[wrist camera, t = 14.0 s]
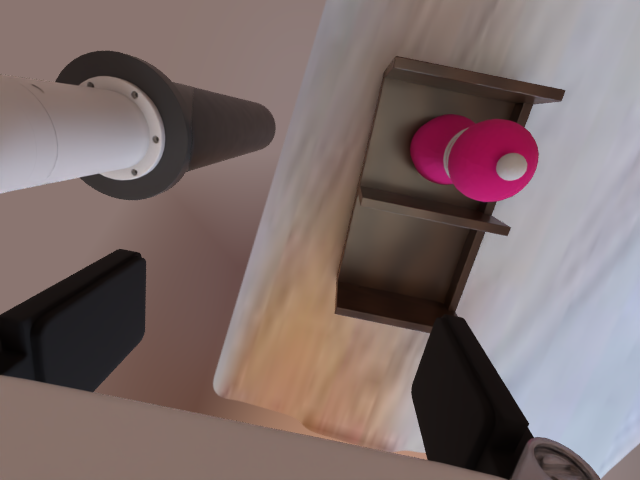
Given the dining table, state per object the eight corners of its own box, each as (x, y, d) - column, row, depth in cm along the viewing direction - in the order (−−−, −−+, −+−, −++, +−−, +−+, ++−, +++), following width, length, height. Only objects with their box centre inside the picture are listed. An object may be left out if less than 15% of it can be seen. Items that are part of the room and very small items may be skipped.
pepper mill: (480, 135, 39) (606, 145, 20) (443, 188, 42) (525, 242, 23) (428, 103, 39) (508, 83, 20) (393, 159, 41) (435, 189, 22)
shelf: (336, 278, 50) (334, 314, 40) (384, 71, 41) (395, 55, 31) (442, 299, 50) (465, 341, 40) (514, 98, 40) (566, 90, 31)
